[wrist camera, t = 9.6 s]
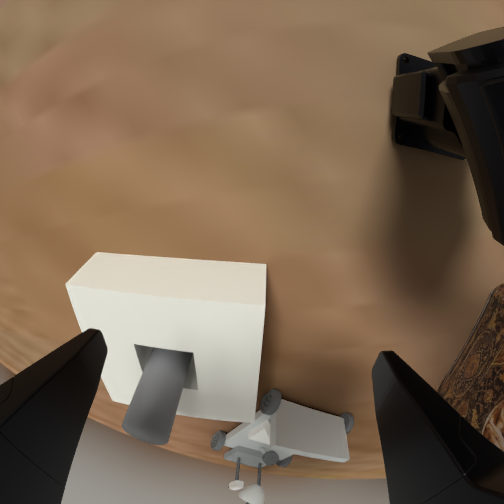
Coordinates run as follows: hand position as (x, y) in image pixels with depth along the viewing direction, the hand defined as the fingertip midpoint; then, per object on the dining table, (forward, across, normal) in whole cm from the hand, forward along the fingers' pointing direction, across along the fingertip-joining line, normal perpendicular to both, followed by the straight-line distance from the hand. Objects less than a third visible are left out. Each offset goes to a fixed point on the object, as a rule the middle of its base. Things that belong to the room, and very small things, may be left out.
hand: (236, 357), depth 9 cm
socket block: (+13, +6, +11) cm, 18 cm away
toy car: (+14, -4, +29) cm, 32 cm away
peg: (+12, +6, +11) cm, 17 cm away
